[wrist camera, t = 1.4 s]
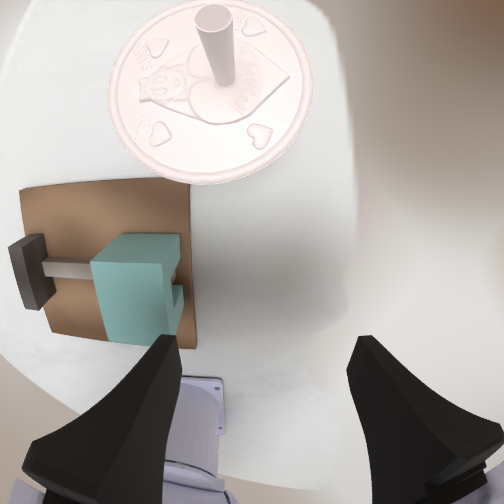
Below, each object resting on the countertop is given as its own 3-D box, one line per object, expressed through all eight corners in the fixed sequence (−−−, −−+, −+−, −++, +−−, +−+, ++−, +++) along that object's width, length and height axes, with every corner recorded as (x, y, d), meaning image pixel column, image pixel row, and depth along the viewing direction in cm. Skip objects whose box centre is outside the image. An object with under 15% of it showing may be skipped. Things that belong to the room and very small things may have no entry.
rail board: (196, 343, 22) (191, 376, 18) (55, 327, 21) (37, 351, 18) (189, 177, 17) (177, 185, 14) (25, 188, 16) (-6, 199, 13)
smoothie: (277, 161, 17) (392, 220, 4) (175, 169, 17) (28, 247, 4) (272, 65, 15) (351, -83, 2) (170, 73, 15) (37, -37, 2)
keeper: (184, 305, 19) (172, 347, 15) (131, 302, 19) (109, 341, 15) (179, 233, 17) (161, 263, 13) (121, 233, 17) (89, 261, 13)
